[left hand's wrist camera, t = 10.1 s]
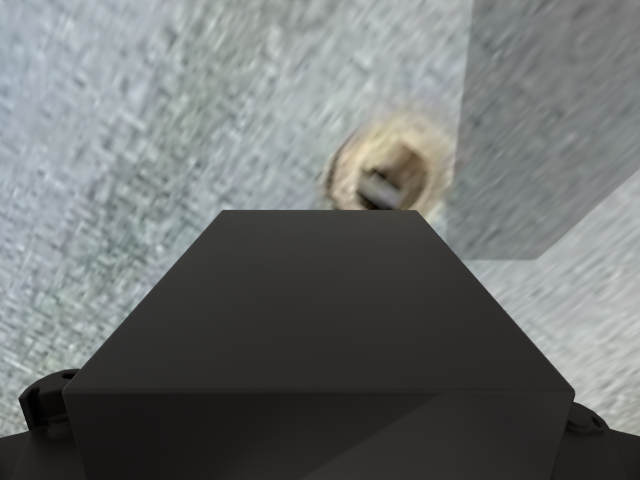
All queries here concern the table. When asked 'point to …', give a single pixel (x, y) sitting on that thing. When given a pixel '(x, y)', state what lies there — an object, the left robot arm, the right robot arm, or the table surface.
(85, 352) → the table surface
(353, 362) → the box
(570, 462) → the left robot arm
